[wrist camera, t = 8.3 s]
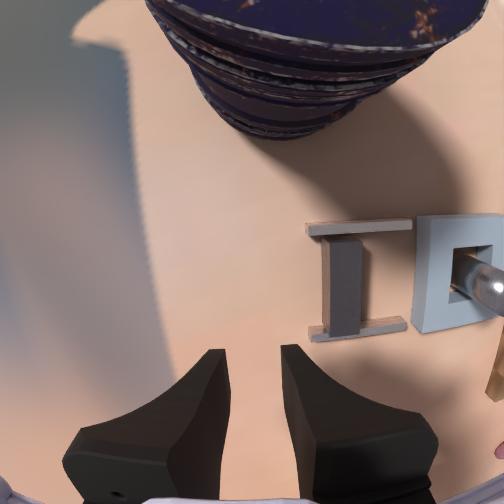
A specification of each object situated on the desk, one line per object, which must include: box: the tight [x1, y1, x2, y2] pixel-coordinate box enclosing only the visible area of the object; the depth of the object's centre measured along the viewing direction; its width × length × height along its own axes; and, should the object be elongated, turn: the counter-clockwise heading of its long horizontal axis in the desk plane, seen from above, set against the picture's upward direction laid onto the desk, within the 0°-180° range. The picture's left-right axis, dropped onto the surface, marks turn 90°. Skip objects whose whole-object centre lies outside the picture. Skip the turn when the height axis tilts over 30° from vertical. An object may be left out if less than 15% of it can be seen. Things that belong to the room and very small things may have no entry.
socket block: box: [411, 213, 504, 334], centre depth 20 cm, size 8×8×2 cm
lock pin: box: [450, 252, 504, 317], centre depth 18 cm, size 3×3×6 cm
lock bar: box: [321, 234, 362, 338], centre depth 20 cm, size 6×2×2 cm, turn 4°
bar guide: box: [305, 218, 412, 343], centre depth 21 cm, size 8×7×1 cm
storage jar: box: [145, 0, 489, 141], centre depth 11 cm, size 10×10×15 cm
